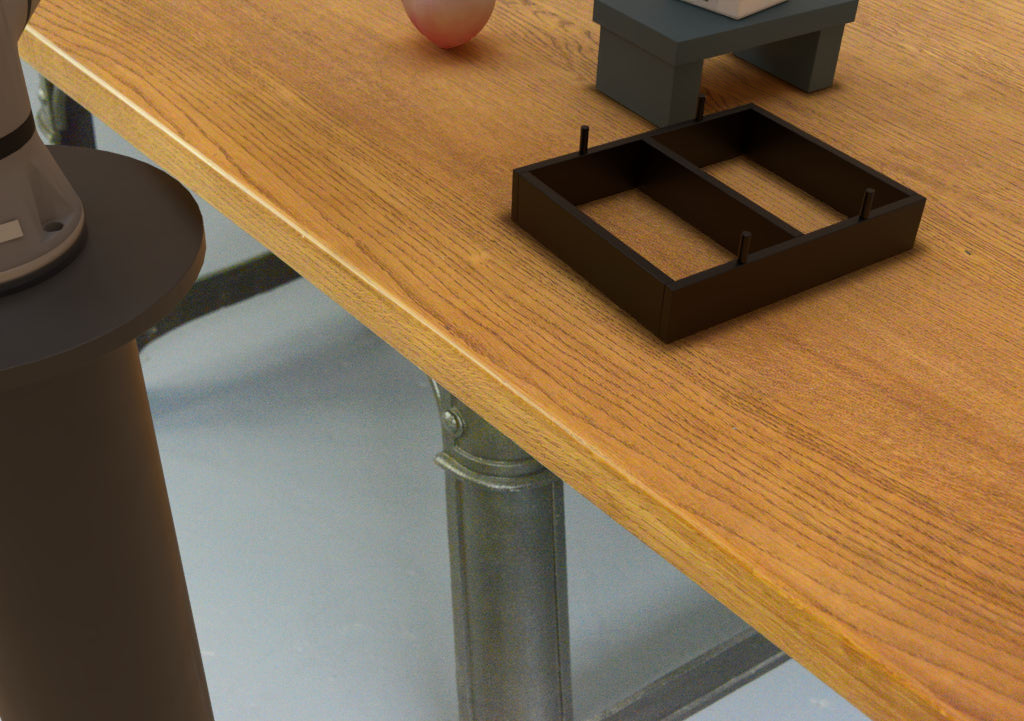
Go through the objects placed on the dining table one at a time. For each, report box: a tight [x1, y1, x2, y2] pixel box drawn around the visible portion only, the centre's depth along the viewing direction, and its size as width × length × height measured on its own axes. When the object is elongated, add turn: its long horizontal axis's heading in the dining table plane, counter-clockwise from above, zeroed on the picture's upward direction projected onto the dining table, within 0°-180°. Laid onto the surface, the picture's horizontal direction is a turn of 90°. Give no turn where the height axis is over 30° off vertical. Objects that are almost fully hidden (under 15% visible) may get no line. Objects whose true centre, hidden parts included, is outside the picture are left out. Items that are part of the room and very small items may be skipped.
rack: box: [510, 93, 928, 345], centre depth 80 cm, size 18×22×6 cm
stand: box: [591, 0, 860, 128], centre depth 99 cm, size 11×20×8 cm, turn 123°
